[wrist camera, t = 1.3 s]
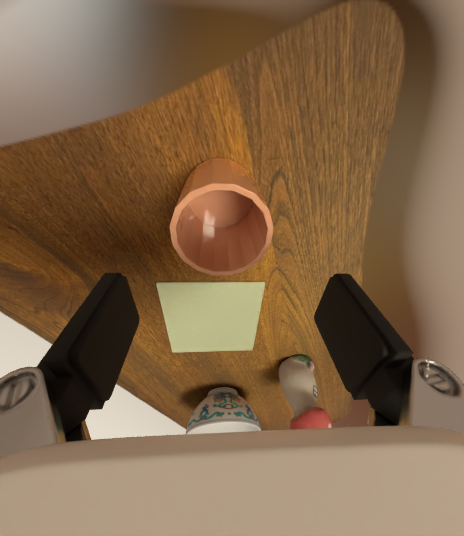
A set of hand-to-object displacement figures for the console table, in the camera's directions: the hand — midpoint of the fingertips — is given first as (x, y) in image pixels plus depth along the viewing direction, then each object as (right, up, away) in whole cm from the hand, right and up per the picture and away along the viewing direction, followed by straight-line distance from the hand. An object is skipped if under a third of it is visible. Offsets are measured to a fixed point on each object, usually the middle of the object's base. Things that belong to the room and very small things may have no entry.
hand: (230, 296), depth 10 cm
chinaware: (-2, -27, +38) cm, 47 cm away
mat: (-3, -7, +22) cm, 23 cm away
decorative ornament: (+12, -18, +32) cm, 38 cm away
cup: (-1, +8, +10) cm, 13 cm away
